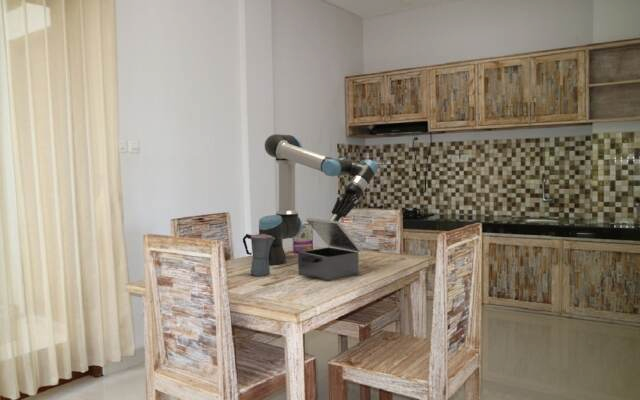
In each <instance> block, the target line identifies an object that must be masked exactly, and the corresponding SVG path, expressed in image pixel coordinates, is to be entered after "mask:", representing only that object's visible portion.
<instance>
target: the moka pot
mask: <svg viewBox="0 0 640 400" xmlns="http://www.w3.org/2000/svg"><path fill="white" fill-rule="evenodd" d="M262 233H263V231H262V230H260V234H259V233H258V234H249V233H246V234H245V235H244V236H243V238H242V242H243V246H244V249H245V253H246V255H249V256H252V262H251V267H250V275H252V276H255V277H266V276H269V275H270V274H271V271H270V265H269V259H268V257H269V251H270V246H271V244H272V242H273V240H274V239H275V238H274V237H272V236H270V235H265V234H262ZM246 239H248V240H251V249H252V250H251V251H252V252H250V251H249V249H248V248H249V247H248V245H247V241H246Z"/></svg>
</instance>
